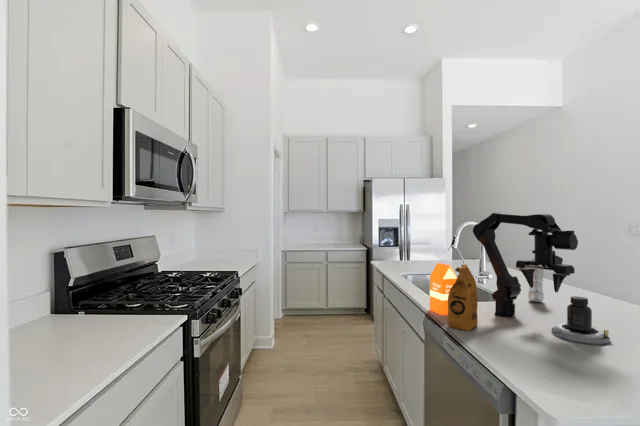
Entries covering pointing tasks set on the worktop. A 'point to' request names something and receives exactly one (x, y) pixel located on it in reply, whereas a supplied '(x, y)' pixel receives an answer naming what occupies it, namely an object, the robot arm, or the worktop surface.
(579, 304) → the supplement bottle
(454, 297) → the coffee package
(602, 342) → the seat plate
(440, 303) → the orange juice
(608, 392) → the worktop surface
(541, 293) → the plastic bottle
